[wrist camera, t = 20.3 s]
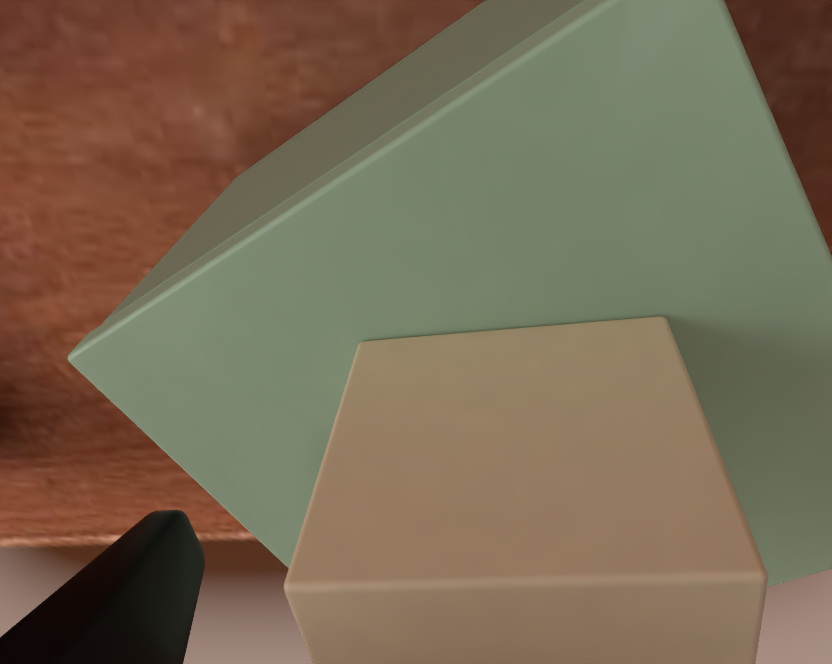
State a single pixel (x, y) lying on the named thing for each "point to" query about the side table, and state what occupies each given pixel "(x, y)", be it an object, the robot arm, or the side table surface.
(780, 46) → the side table surface
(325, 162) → the box
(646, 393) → the block
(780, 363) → the box lid
